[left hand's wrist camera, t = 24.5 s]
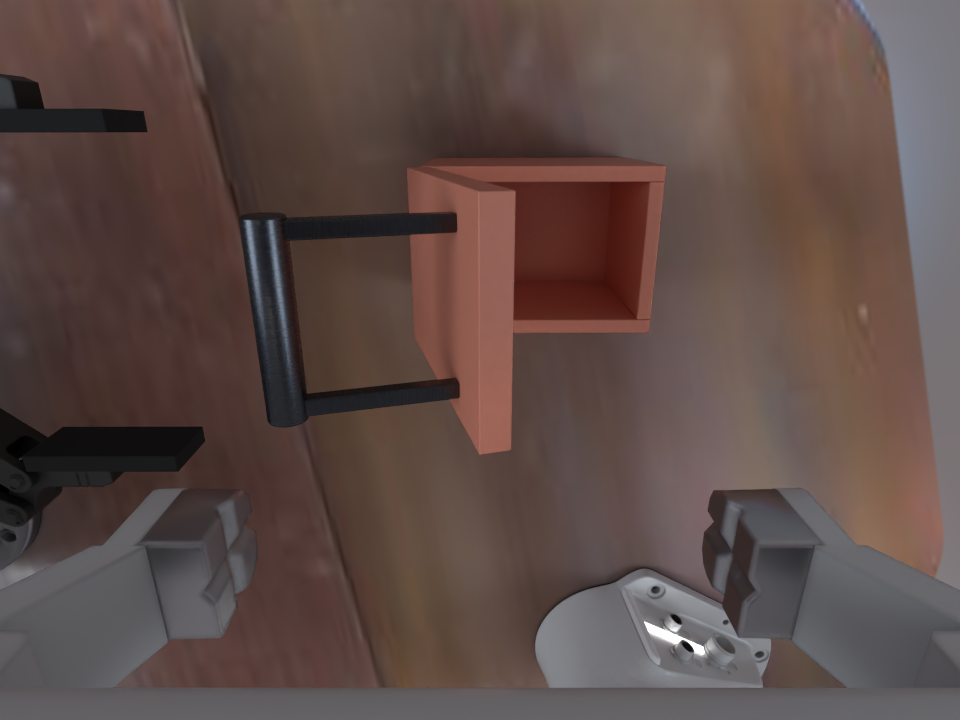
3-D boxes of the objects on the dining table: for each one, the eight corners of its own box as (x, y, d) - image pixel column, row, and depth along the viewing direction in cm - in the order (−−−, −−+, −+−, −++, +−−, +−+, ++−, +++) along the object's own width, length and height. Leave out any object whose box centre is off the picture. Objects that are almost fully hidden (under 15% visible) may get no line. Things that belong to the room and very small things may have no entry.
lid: (516, 190, 19) (223, 198, 17) (511, 450, 22) (266, 486, 20) (430, 166, 32) (255, 170, 29) (435, 336, 35) (279, 350, 33)
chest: (622, 157, 42) (666, 165, 32) (612, 288, 46) (649, 333, 35) (434, 157, 42) (419, 166, 32) (438, 288, 46) (425, 333, 36)
